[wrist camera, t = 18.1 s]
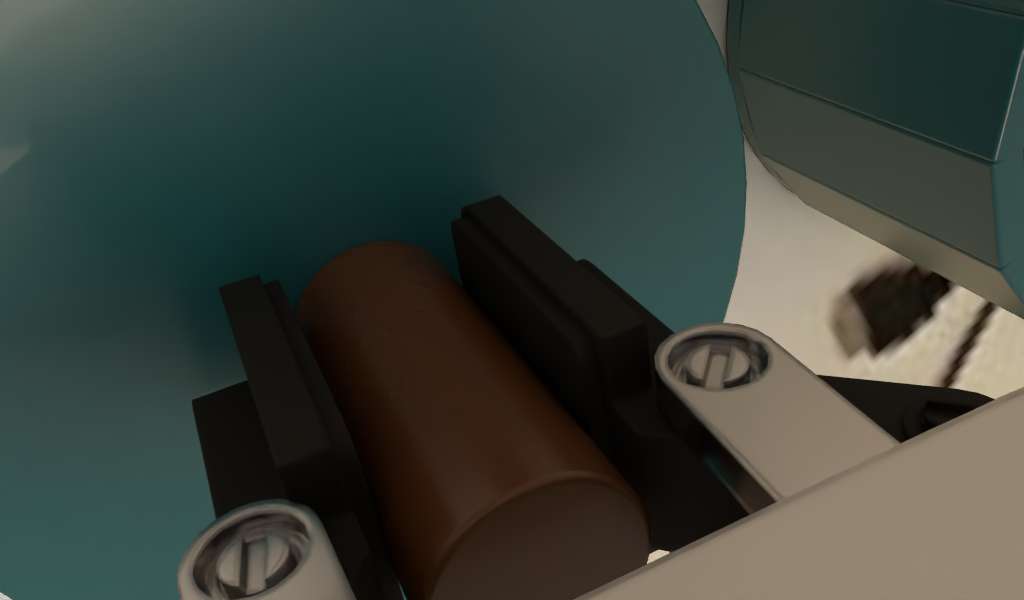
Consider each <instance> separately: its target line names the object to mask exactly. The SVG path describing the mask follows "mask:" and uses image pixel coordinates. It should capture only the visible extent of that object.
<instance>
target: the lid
mask: <svg viewBox="0 0 1024 600" xmlns="http://www.w3.org/2000/svg"><path fill="white" fill-rule="evenodd" d="M746 186H747V182H746V168H745V154H744V139H743V133H742V128H741V123H740V118H739V113H738V108H737V103H736V98H735V93H734V89H733V86H732V83H731V80H730V77H729V74H728V71H727V68H726V65H725V62H724V59H723V57H722V54H721V51H720V48H719V45H718V42H717V40H716V38H715V36H714V34H713V32H712V30H711V28H710V26H709V25H708V23H707V21H706V19H705V17H704V15H703V13H702V11H701V9H700V7H699V5H698V3H697V1H696V0H0V592H2V593H3V594H5V595H6V596H8V597H9V598H11V599H12V600H180V595H179V591H178V586H177V581H178V567H179V564H180V562H181V559H182V557H183V554H184V552H185V550H186V549H187V548H188V546H189V545H190V544H191V542H192V541H193V540H194V539H195V537H196V536H197V535H198V534H199V533H200V532H201V531H202V530H203V529H205V528H206V527H207V526H208V525H209V524H211V523H212V522H213V521H214V520H215V519H216V516H215V512H214V507H213V502H212V498H211V493H210V488H209V483H208V479H207V474H206V469H205V464H204V460H203V455H202V450H201V446H200V441H199V436H198V431H197V427H196V422H195V417H194V413H193V408H192V400H193V399H196V398H199V397H202V396H204V395H207V394H210V393H213V392H215V391H218V390H221V389H224V388H226V387H229V386H232V385H235V384H237V383H240V382H243V381H246V380H248V379H247V376H246V372H245V369H244V366H243V363H242V360H241V357H240V354H239V351H238V348H237V344H236V341H235V338H234V335H233V332H232V329H231V326H230V323H229V320H228V317H227V313H226V310H225V307H224V304H223V301H222V298H221V295H220V292H219V288H218V287H221V286H224V285H228V284H231V283H234V282H237V281H240V280H243V279H246V278H249V277H252V276H255V275H258V274H259V276H260V278H261V280H262V283H263V284H265V283H268V282H271V281H274V280H277V279H279V281H280V283H281V285H282V287H283V290H284V292H285V294H286V296H287V298H288V301H289V303H290V305H291V307H292V309H293V311H294V314H295V316H296V318H297V320H298V322H299V324H300V327H301V329H302V331H303V333H304V335H305V337H306V340H307V342H308V344H309V346H310V348H311V350H312V353H313V355H314V357H315V359H316V361H317V364H318V366H319V368H320V370H321V372H322V374H323V377H324V379H325V381H326V383H327V385H328V387H329V390H330V392H331V394H332V396H333V398H334V400H335V403H336V405H337V407H338V409H339V411H340V413H341V416H342V418H343V420H344V422H345V424H346V427H347V429H348V432H349V434H350V437H351V439H352V442H353V444H354V447H355V450H356V453H357V455H358V458H359V461H360V464H361V467H362V470H363V473H364V477H365V480H366V483H367V486H368V489H369V492H370V495H371V498H372V501H373V504H374V508H375V511H376V514H377V517H378V520H379V523H380V526H381V529H382V532H383V535H384V545H385V549H386V554H387V556H388V558H389V561H390V563H391V565H392V568H393V570H394V572H395V574H396V577H397V579H398V582H399V585H400V588H401V591H402V594H403V597H404V600H574V599H576V598H578V597H580V596H582V595H584V594H586V593H588V592H590V591H593V590H595V589H597V588H599V587H601V586H603V585H605V584H607V583H609V582H611V581H613V580H615V579H617V578H620V577H622V576H624V575H626V574H628V573H630V572H632V571H634V570H636V569H638V568H640V567H642V566H644V565H646V564H647V561H648V557H649V553H650V546H651V527H650V522H649V517H648V513H647V510H646V507H645V505H644V503H643V501H642V499H641V498H640V496H639V495H638V493H637V492H636V491H635V490H634V489H633V488H632V486H631V485H630V484H629V483H628V482H627V480H626V479H625V478H624V477H623V476H622V475H621V473H620V472H619V471H618V470H617V469H616V467H615V466H614V465H613V464H612V463H611V462H610V460H609V459H608V458H607V457H606V456H605V455H604V453H603V452H602V451H601V450H600V449H599V447H598V446H597V445H596V444H595V443H594V442H593V440H592V439H591V438H590V437H589V436H588V434H587V433H586V432H585V431H584V430H583V429H582V427H581V426H580V425H579V424H578V423H577V421H576V420H575V419H574V418H573V417H572V416H571V414H570V413H569V412H568V411H567V410H566V409H565V407H564V406H563V405H562V404H561V403H560V401H559V400H558V399H557V398H556V397H555V396H554V394H553V393H552V392H551V391H550V390H549V388H548V387H547V386H546V385H545V384H544V383H543V381H542V380H541V379H540V378H539V377H538V375H537V374H536V373H535V372H534V371H533V370H532V368H531V367H530V366H529V365H528V364H527V363H526V361H525V360H524V359H523V358H522V357H521V355H520V354H519V353H518V352H517V351H516V350H515V348H514V347H513V346H512V345H511V344H510V342H509V341H508V340H507V339H506V338H505V337H504V335H503V334H502V333H501V332H500V331H499V330H498V328H497V327H496V326H495V325H494V324H493V322H492V321H491V320H490V319H489V318H488V317H487V315H486V314H485V313H484V312H483V311H482V309H481V308H480V307H479V306H478V305H477V304H476V302H475V301H474V300H473V299H472V298H471V296H470V295H469V294H468V293H467V292H466V291H465V289H464V288H463V285H462V280H461V275H460V270H459V266H458V261H457V256H456V251H455V246H454V242H453V237H452V232H451V222H452V221H454V220H457V219H460V218H461V209H462V207H464V206H467V205H470V204H473V203H476V202H479V201H482V200H485V199H488V198H491V197H494V196H497V195H500V196H502V197H503V198H504V199H506V200H507V201H508V202H509V203H510V204H511V205H512V206H514V207H515V208H516V209H517V210H518V211H519V212H521V213H522V214H523V215H524V216H525V217H526V218H527V219H529V220H530V221H531V222H532V223H533V224H534V225H536V226H537V227H538V228H539V229H540V230H541V231H542V232H544V233H545V234H546V235H547V236H548V237H549V238H551V239H552V240H553V241H554V242H555V243H556V244H557V245H559V246H560V247H561V248H562V249H563V250H564V251H566V252H567V253H568V254H569V255H570V256H571V257H572V258H574V259H575V260H576V261H577V260H580V259H586V260H588V261H590V262H591V263H593V264H594V265H595V266H596V267H597V268H599V269H600V270H601V271H602V272H603V273H604V274H606V275H607V276H608V277H609V278H610V279H612V280H613V281H614V282H615V283H616V284H617V285H619V286H620V287H621V288H622V289H623V290H625V291H626V292H627V293H628V294H629V295H630V296H632V297H633V298H634V299H635V300H636V301H638V302H639V303H640V304H641V305H642V306H644V307H645V308H646V309H647V310H648V311H649V312H651V313H652V314H653V315H654V316H655V317H657V318H658V319H659V320H660V321H661V322H662V323H664V324H665V325H666V326H667V327H668V328H670V329H671V330H672V331H673V332H674V333H676V332H678V331H680V330H682V329H684V328H687V327H691V326H695V325H699V324H705V323H720V322H721V323H723V321H724V318H725V315H726V312H727V308H728V304H729V301H730V297H731V294H732V290H733V287H734V283H735V279H736V276H737V271H738V265H739V259H740V253H741V247H742V241H743V235H744V226H745V206H746Z"/></svg>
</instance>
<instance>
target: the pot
mask: <svg viewBox="0 0 1024 600" xmlns="http://www.w3.org/2000/svg"><path fill="white" fill-rule="evenodd" d="M727 54H728V67H729V77H730V80H731V83H732V86H733V89H734V93H735V98H736V103H737V108H738V113H739V118H740V122H741V124H742V127H743V130H744V133H745V134H746V136H747V138H748V140H749V142H750V144H751V146H752V148H753V150H754V152H755V153H756V155H757V156H758V158H759V159H760V160H761V162H762V163H763V164H764V166H765V167H766V168H767V170H768V171H769V172H770V173H771V174H772V175H773V176H774V177H775V178H776V179H777V180H778V181H779V182H780V183H782V184H783V185H784V186H785V187H786V188H787V189H789V190H791V191H792V192H794V193H796V194H797V195H798V196H799V198H800V199H801V200H802V201H803V202H804V203H805V204H807V205H808V206H810V207H812V208H814V209H816V210H818V211H820V212H822V213H823V214H825V215H827V216H829V217H831V218H833V219H835V220H837V221H839V222H840V223H842V224H844V225H846V226H848V227H850V228H852V229H854V230H856V231H858V232H859V233H861V234H863V235H865V236H867V237H869V238H871V239H873V240H875V241H876V242H878V243H880V244H882V245H884V246H886V247H888V248H890V249H892V250H894V251H895V252H897V253H899V254H901V255H903V256H905V257H907V258H909V259H911V260H912V261H914V262H916V263H918V264H920V265H922V266H924V267H926V268H928V269H930V270H931V271H933V272H935V273H937V274H939V275H941V276H943V277H945V278H947V279H948V280H950V281H952V282H954V283H956V284H958V285H960V286H962V287H964V288H966V289H967V290H969V291H971V292H973V293H975V294H977V295H979V296H981V297H983V298H984V299H986V300H988V301H990V302H992V303H994V304H996V305H998V306H1000V307H1002V308H1003V309H1005V310H1007V311H1009V312H1011V313H1013V314H1015V315H1017V316H1019V317H1020V318H1022V319H1024V0H730V1H729V8H728V26H727Z"/></svg>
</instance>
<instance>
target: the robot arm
mask: <svg viewBox="0 0 1024 600" xmlns="http://www.w3.org/2000/svg"><path fill="white" fill-rule="evenodd" d="M451 232H452V237H453V242H454V246H455V251H456V256H457V261H458V266H459V270H460V275H461V280H462V285H463V288H464V289H465V291H466V292H467V293H468V294H469V295H470V296H471V298H472V299H473V300H474V301H475V302H476V304H477V305H478V306H479V307H480V308H481V309H482V311H483V312H484V313H485V314H486V315H487V317H488V318H489V319H490V320H491V321H492V322H493V324H494V325H495V326H496V327H497V328H498V330H499V331H500V332H501V333H502V334H503V335H504V337H505V338H506V339H507V340H508V341H509V342H510V344H511V345H512V346H513V347H514V348H515V350H516V351H517V352H518V353H519V354H520V355H521V357H522V358H523V359H524V360H525V361H526V363H527V364H528V365H529V366H530V367H531V368H532V370H533V371H534V372H535V373H536V374H537V375H538V377H539V378H540V379H541V380H542V381H543V383H544V384H545V385H546V386H547V387H548V388H549V390H550V391H551V392H552V393H553V394H554V396H555V397H556V398H557V399H558V400H559V401H560V403H561V404H562V405H563V406H564V407H565V409H566V410H567V411H568V412H569V413H570V414H571V416H572V417H573V418H574V419H575V420H576V421H577V423H578V424H579V425H580V426H581V427H582V429H583V430H584V431H585V432H586V433H587V434H588V436H589V437H590V438H591V439H592V440H593V442H594V443H595V444H596V445H597V446H598V447H599V449H600V450H601V451H602V452H603V453H604V455H605V456H606V457H607V458H608V459H609V460H610V462H611V463H612V464H613V465H614V466H615V467H616V469H617V470H618V471H619V472H620V473H621V475H622V476H623V477H624V478H625V479H626V480H627V482H628V483H629V484H630V485H631V486H632V488H633V489H634V490H635V491H636V492H637V493H638V495H639V496H640V498H641V499H642V501H643V503H644V505H645V507H646V510H647V513H648V517H649V522H650V527H651V546H650V553H652V552H654V551H656V550H664V551H669V554H667V555H665V556H663V557H661V558H659V559H657V560H655V561H653V562H651V563H649V564H647V565H644V566H642V567H640V568H638V569H636V570H634V571H632V572H630V573H628V574H626V575H624V576H622V577H620V578H617V579H615V580H613V581H611V582H609V583H607V584H605V585H603V586H601V587H599V588H597V589H595V590H593V591H590V592H588V593H586V594H584V595H582V596H580V597H578V598H576V599H574V600H1024V387H1023V388H1020V389H1018V390H1016V391H1013V392H1011V393H1008V394H1006V395H1004V396H1002V397H999V398H997V399H993V398H990V397H987V396H985V395H982V394H979V393H975V392H970V391H965V390H959V389H952V388H942V387H932V386H922V385H912V384H903V383H893V382H883V381H873V380H863V379H853V378H843V377H833V376H823V375H816V374H815V373H813V372H812V371H811V370H810V369H808V368H807V367H806V366H805V365H804V364H802V363H801V362H800V361H799V360H797V359H796V358H795V357H794V356H792V355H791V354H790V353H789V352H787V351H786V350H785V349H784V348H783V347H781V346H780V345H779V344H778V343H776V342H775V341H774V340H773V339H771V338H770V337H768V336H767V335H765V334H763V333H762V332H760V331H758V330H756V329H753V328H750V327H746V326H743V325H740V324H731V323H721V322H720V323H705V324H699V325H695V326H691V327H687V328H684V329H682V330H680V331H678V332H676V333H674V332H673V331H672V330H671V329H670V328H668V327H667V326H666V325H665V324H664V323H662V322H661V321H660V320H659V319H658V318H657V317H655V316H654V315H653V314H652V313H651V312H649V311H648V310H647V309H646V308H645V307H644V306H642V305H641V304H640V303H639V302H638V301H636V300H635V299H634V298H633V297H632V296H630V295H629V294H628V293H627V292H626V291H625V290H623V289H622V288H621V287H620V286H619V285H617V284H616V283H615V282H614V281H613V280H612V279H610V278H609V277H608V276H607V275H606V274H604V273H603V272H602V271H601V270H600V269H599V268H597V267H596V266H595V265H594V264H593V263H591V262H590V261H588V260H586V259H580V260H577V261H576V260H575V259H574V258H572V257H571V256H570V255H569V254H568V253H567V252H566V251H564V250H563V249H562V248H561V247H560V246H559V245H557V244H556V243H555V242H554V241H553V240H552V239H551V238H549V237H548V236H547V235H546V234H545V233H544V232H542V231H541V230H540V229H539V228H538V227H537V226H536V225H534V224H533V223H532V222H531V221H530V220H529V219H527V218H526V217H525V216H524V215H523V214H522V213H521V212H519V211H518V210H517V209H516V208H515V207H514V206H512V205H511V204H510V203H509V202H508V201H507V200H506V199H504V198H503V197H502V196H500V195H497V196H494V197H491V198H488V199H485V200H482V201H479V202H476V203H473V204H470V205H467V206H464V207H462V209H461V218H460V219H457V220H454V221H452V222H451ZM218 288H219V292H220V295H221V298H222V301H223V304H224V307H225V310H226V313H227V317H228V320H229V323H230V326H231V329H232V332H233V335H234V338H235V341H236V344H237V348H238V351H239V354H240V357H241V360H242V363H243V366H244V369H245V372H246V376H247V379H248V380H246V381H243V382H240V383H237V384H235V385H232V386H229V387H226V388H224V389H221V390H218V391H215V392H213V393H210V394H207V395H204V396H202V397H199V398H196V399H193V400H192V408H193V413H194V417H195V422H196V427H197V431H198V436H199V441H200V446H201V450H202V455H203V460H204V464H205V469H206V474H207V479H208V483H209V488H210V493H211V498H212V502H213V507H214V512H215V516H216V519H215V520H214V521H213V522H212V523H211V524H209V525H208V526H207V527H206V528H205V529H203V530H202V531H201V532H200V533H199V534H198V535H197V536H196V537H195V539H194V540H193V541H192V542H191V544H190V545H189V546H188V548H187V549H186V550H185V552H184V554H183V557H182V559H181V562H180V564H179V567H178V581H177V586H178V591H179V595H180V600H404V597H403V594H402V591H401V588H400V585H399V582H398V579H397V577H396V574H395V572H394V570H393V568H392V565H391V563H390V561H389V558H388V556H387V554H386V549H385V545H384V535H383V532H382V529H381V526H380V523H379V520H378V517H377V514H376V511H375V508H374V504H373V501H372V498H371V495H370V492H369V489H368V486H367V483H366V480H365V477H364V473H363V470H362V467H361V464H360V461H359V458H358V455H357V453H356V450H355V447H354V444H353V442H352V439H351V437H350V434H349V432H348V429H347V427H346V424H345V422H344V420H343V418H342V416H341V413H340V411H339V409H338V407H337V405H336V403H335V400H334V398H333V396H332V394H331V392H330V390H329V387H328V385H327V383H326V381H325V379H324V377H323V374H322V372H321V370H320V368H319V366H318V364H317V361H316V359H315V357H314V355H313V353H312V350H311V348H310V346H309V344H308V342H307V340H306V337H305V335H304V333H303V331H302V329H301V327H300V324H299V322H298V320H297V318H296V316H295V314H294V311H293V309H292V307H291V305H290V303H289V301H288V298H287V296H286V294H285V292H284V290H283V287H282V285H281V283H280V281H279V279H277V280H274V281H271V282H268V283H265V284H263V283H262V280H261V278H260V276H259V274H258V275H255V276H252V277H249V278H246V279H243V280H240V281H237V282H234V283H231V284H228V285H224V286H221V287H218ZM650 553H649V554H650Z"/></svg>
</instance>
